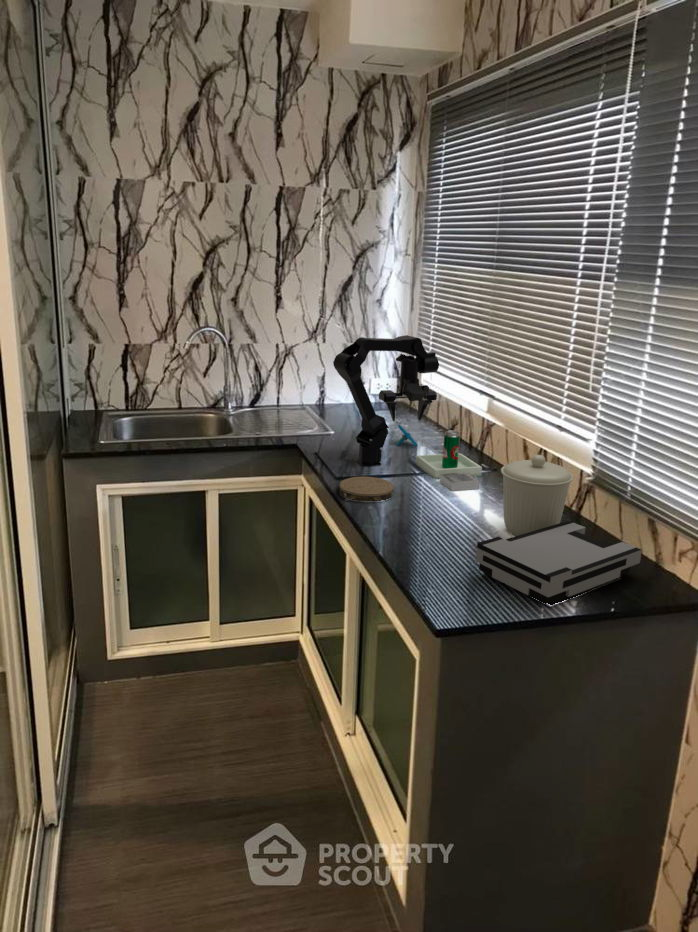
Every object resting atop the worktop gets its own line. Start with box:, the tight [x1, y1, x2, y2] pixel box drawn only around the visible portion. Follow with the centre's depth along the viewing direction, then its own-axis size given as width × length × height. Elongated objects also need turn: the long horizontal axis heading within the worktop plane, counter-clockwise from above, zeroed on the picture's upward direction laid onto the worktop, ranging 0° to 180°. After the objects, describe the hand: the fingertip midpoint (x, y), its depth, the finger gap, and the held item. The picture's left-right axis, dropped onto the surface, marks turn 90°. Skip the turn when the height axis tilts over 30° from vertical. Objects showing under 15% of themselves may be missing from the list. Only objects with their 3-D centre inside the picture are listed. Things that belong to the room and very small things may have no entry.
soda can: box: [442, 430, 461, 469], centre depth 247 cm, size 5×5×12 cm
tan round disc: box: [338, 476, 395, 501], centre depth 224 cm, size 16×16×3 cm
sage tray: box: [415, 452, 483, 480], centre depth 249 cm, size 16×16×3 cm
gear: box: [396, 424, 418, 447], centre depth 275 cm, size 11×6×10 cm
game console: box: [475, 520, 643, 605], centre depth 174 cm, size 21×32×8 cm, turn 126°
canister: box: [500, 454, 575, 537], centre depth 197 cm, size 18×18×21 cm
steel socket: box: [439, 472, 480, 492], centre depth 234 cm, size 9×9×2 cm
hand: (406, 420), depth 257 cm, fingers open, 9 cm apart
